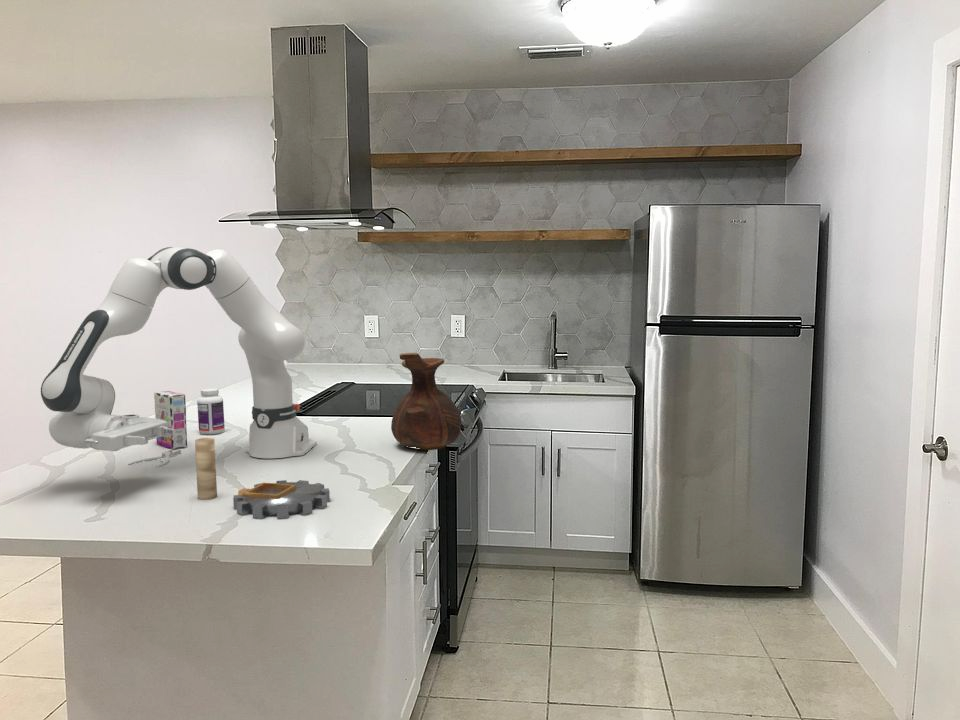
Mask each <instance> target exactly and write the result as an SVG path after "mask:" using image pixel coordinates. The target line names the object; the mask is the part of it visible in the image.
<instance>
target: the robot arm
mask: <svg viewBox="0 0 960 720" xmlns="http://www.w3.org/2000/svg"><path fill="white" fill-rule="evenodd" d="M201 287H206V288H207V290H208V291H209V292H210V293H211V295H212V296H213V298H214V299H215V300H216V302H217V303H218V304H219V306H220V307H221V308H222V311H224V312H225V314H226V315H227V316H228V318H229V319H230V320H231V322H234V323H235V324H236V325H237V326H239V327H240V329H239V332H238V338H237V340H238V343H239V346H240V347H241V349H242V350H243V352H244V354H245V356H246V357H245V358H246V361H247V364H248V368H249V372H250V375H251V382H252V398H253V400H252V401H253V403H252V404H253V406H252V407H251V408H252V409H251V415H252V416H251V418H252V422H251V423H250V424H249V433H248V446H247V447H245V452H246V453H248V455H249V456H250V457H253V458H258V459H282V458H284V459H285V458H289V457H299V456H304V455H306V454H307V453H309V451H311V450H312V449H313V448H314V447H315V446H316V445H318V442H317V440H315V439H310V438H309V434H310V433H309V427H308V426H307V425H306V424H305V423H304V422H303V421H302V420H300V419H299V417H297V411H300V409H301V408H300V407H301V405H300V403H294V402H293V380H292V377H291V375H290V373H289V372H288V370H287V368H286V365H285V362H284V361H290V360H293V359H295V358H297V357H299V356H300V355H301V353H302V352H303V351H304V348H305V342H306V341H305V339H306V338H305V336H304V334H303V332H302V330H301V329H300V328H298V327H297V326H296V325H294V324H293V323H292V322H290V321H289V320H288V319H287V318H286V317H285V316H284V315H283V314H282V313H281V312H280V311H279V310H278V309H277V308H276V307H275V306H274V305H273V304H271V302H270V301H268V299H267V298H266V297H265V296H264V294H263V293H262V292H261V291H260V289H259V287H258V286H257V285H256V284H255V282H254V281H253V279H252V278H251V276H250V275H249V274H248V273H247V271H246V270H245V269H244V268H243V266H242V265H241V264H240V263H239V262H238V261H237V259H236V258H234V256H232V255H231V254H230V253H229V252H228V251H227V250H225V249H221V248H220V249H219V248H217V249H212V250H210V251H208V252H206V253H203V252H202V251H200V250H198V249H194V248H188V247H185V246H174V247H173V246H168V247H165V248H161V249H159V250H157V252H155V253H154V254H152V255H151V256H150V257H149V258H143V257H131V258H129V259H128V260H126V261H125V263H124V264H123V265H122V267H121V268H120V270H118V273H117V274H116V275H115V278H114V280H113V281H112V284H111V285H110V288H109V289H108V292H107V294H106V296H105V298H104V300H103V301H102V303H100V305H99V306H98V307H97V308H96V309H95V310H93V311H92V312H90V313H89V314H87V316H86V317H85V318H84V319H83V321H82V322H81V323H80V325H79V327H78V328H77V330H76V331H75V333H74V335H73V337H72V338H71V340H70V341H69V343H68V345H67V347H66V349H65V350H64V352H63V353H62V355H61V356H60V358H59V360H58V362H56V365H55V366H54V367H53V368H52V369H51V370H50V371H49V372H48V374H47V375H46V376H45V377H44V379H43V380H42V383H41V385H40V386H41V387H40V397H41V400H42V401H43V402H42V403H43V404H44V405H45V407H46V408H47V409H49V410H50V411H53V412H58V413H56V414H55V415H53V417H51V419H50V420H49V424H48V431H49V434H50V436H51V438H52V440H53V441H55V443H57V444H59V445H61V446H65V447H69V448H74V449H84V450H85V449H90V448H91V449H93V450H97V451H106V452H107V451H109V452H117V451H120V450H122V449H124V448H129V447H132V446H138V445H139V446H144V445H147V444H149V441H151V440H155V439H156V438H158V437H161V436H165V437H170V436H173V435H174V430H173V429H171V428H168V423H167V422H166V421H165V420H161V419H156V418H153V417H140V415H139V414H125V415H120V414H112V412H113V409H114V406H115V401H116V390H115V388H114V386H113V384H112V383H111V382H110V381H108V380H106V379H104V378H99V377H96V376H93V375H92V376H91V375H86V374H84V372H85V370H86V369H87V367H88V365H89V364H90V362H91V360H92V359H93V357H94V354H95V353H96V352H97V350H98V348H99V347H100V346H101V345H102V344H103V342H105V341H107V340H109V339H110V338H115V337H120V336H127V335H132V334H134V333H136V332H138V331H140V330H141V329H143V328H144V326H146V323H147V322H148V320H149V319H150V317H151V313H152V312H153V308H154V307H155V304H156V301H157V299H158V297H159V295H160V294H161V292H163V291H164V290H165V289H166V288H172V289H176V290H184V291H185V290H186V291H193V290H196V289H199V288H201ZM312 447H313V448H312ZM311 448H312V449H311ZM305 453H306V454H305Z"/></svg>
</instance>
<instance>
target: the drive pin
mask: <svg viewBox="0 0 960 720" xmlns="http://www.w3.org/2000/svg"><path fill="white" fill-rule="evenodd" d="M194 447H195V448H194V449H195V467H196V469H195V470H196V490H197V491H196V492H197V499H198V500H202V501H203V500H204V501H206V500H207V501H208V500H212V499H215V498H217V497H218V487H217V468H216V467H217V465H216V464H217V463H216V462H217V461H216V443H215V437H200V438H196V439H195V440H194Z"/></svg>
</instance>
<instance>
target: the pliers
mask: <svg viewBox="0 0 960 720" xmlns="http://www.w3.org/2000/svg"><path fill="white" fill-rule="evenodd" d="M181 454H182V450H181V449H175V450H172V449H169V448H168V449H167V450H165V451H163V452H161V455H158V456H153V457H147V458H142V459H138V460H134V461H132V462H129V463H128V464H127V466H129V465H130V466H133V465H135V463H136V464H139V463H143V461H145V462H154V461H153V460H155V461H158V460H159V462H160V464H158V465H156V466H155V468H161V467H163V466H166V465H167V464H169V463H170V462H171V458H173V457H176V456H179V455H181ZM162 459H163V460H162ZM132 464H133V465H132Z"/></svg>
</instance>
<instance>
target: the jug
mask: <svg viewBox="0 0 960 720" xmlns="http://www.w3.org/2000/svg"><path fill="white" fill-rule="evenodd" d="M399 359H400V360H402V362H401V366H402V367H404V368H405V369H408V371H410V374H411V388H410V390H409V392H407V394H405V395H404V396H403V397H402V398H401V399H400V400H399V402H398V404H397V406H396V408H395V410H394V412H393V415H392V419H391V425H390V429H391V433H392V435H393V438H394V439H395V441H396V442H398V443H399V444H400V445H402V446H404V447H405V446H408V447H416V448H420V449H421V450H423V451H433V450H441V449H443V448H446V447H448V446H450V445H451V444H452V443H455V442H456V441H457V439H458V438H459V437H460V434H461V432H462V431H461V430H462V417H461V413H460V411H459V409H458V408H457V406H456V404H455V403H454V401H453V400H452V398H451V397H449V396H448V394H446V393H444V392H442V391H441V390H440V389H439V388H438V386H437V382H436V372H437V369H438V368H440V367H441V366H442V365H444V363H445V359H443V358H439V357H425V358H424V357H423V358H422V357H421V355H420V354H419V353H417V352H407V353H406V352H405V353H400V354H399Z"/></svg>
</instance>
